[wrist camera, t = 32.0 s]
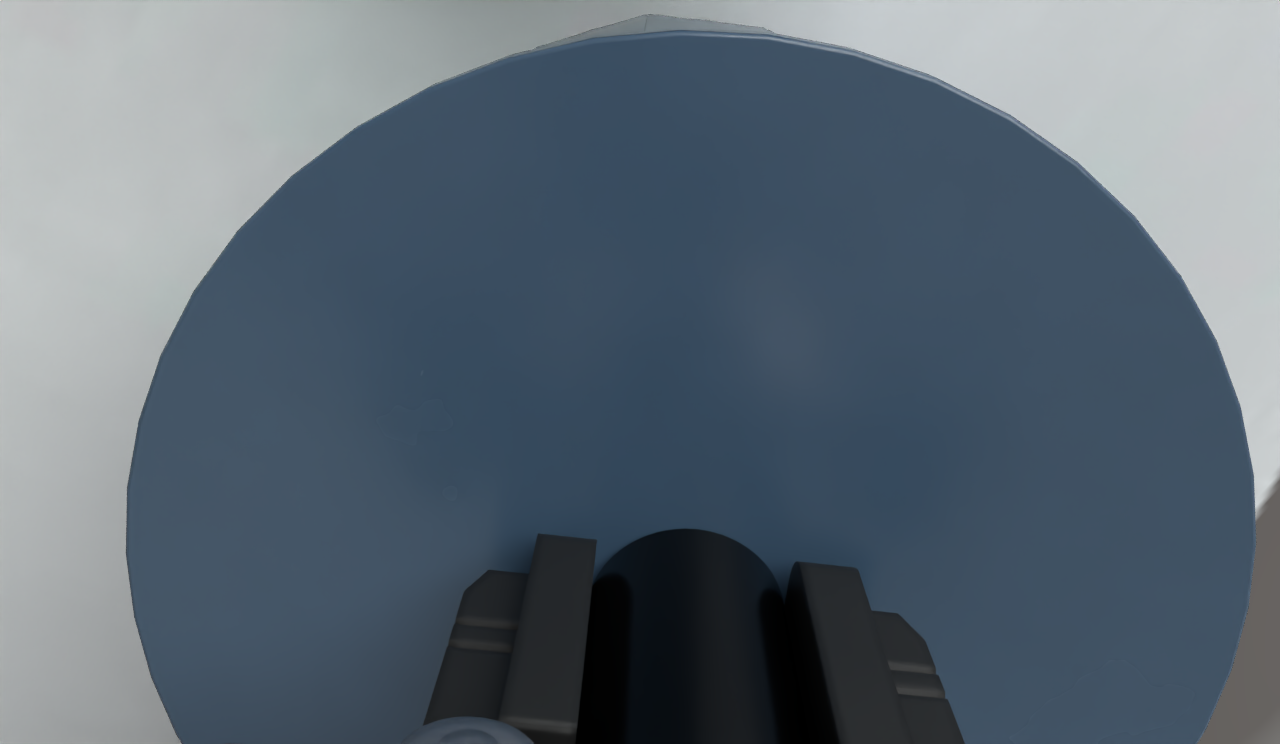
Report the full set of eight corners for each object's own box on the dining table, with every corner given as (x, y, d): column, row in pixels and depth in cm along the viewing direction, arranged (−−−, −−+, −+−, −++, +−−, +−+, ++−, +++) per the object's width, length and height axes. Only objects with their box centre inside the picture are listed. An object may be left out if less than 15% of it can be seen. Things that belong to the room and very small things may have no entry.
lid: (179, 912, 17) (-67, 1402, 11) (138, -46, 12) (-327, -45, 6) (1068, 999, 17) (1271, 1520, 11) (1366, 99, 12) (1964, 222, 7)
